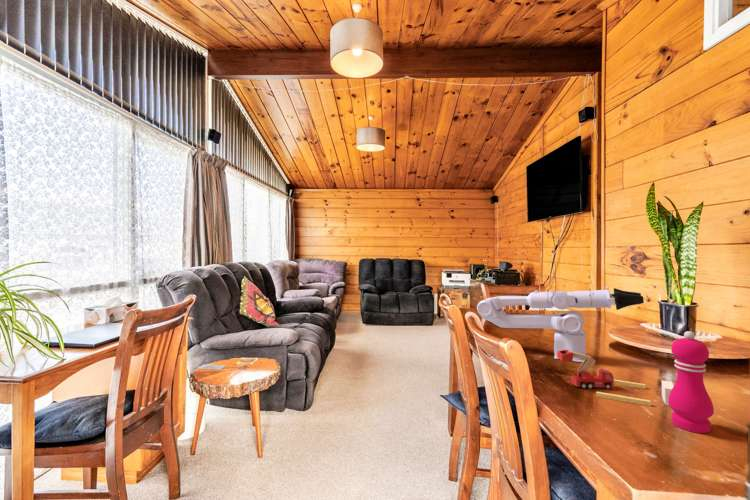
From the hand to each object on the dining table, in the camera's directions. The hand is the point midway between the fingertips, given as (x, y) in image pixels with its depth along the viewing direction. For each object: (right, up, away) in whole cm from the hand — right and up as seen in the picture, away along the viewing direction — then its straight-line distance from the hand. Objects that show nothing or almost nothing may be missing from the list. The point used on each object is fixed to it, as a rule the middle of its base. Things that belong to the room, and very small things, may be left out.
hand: (642, 298), depth 112 cm
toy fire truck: (-26, -22, -14) cm, 37 cm away
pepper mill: (-17, -22, -36) cm, 46 cm away
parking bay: (-17, -22, -20) cm, 34 cm away
